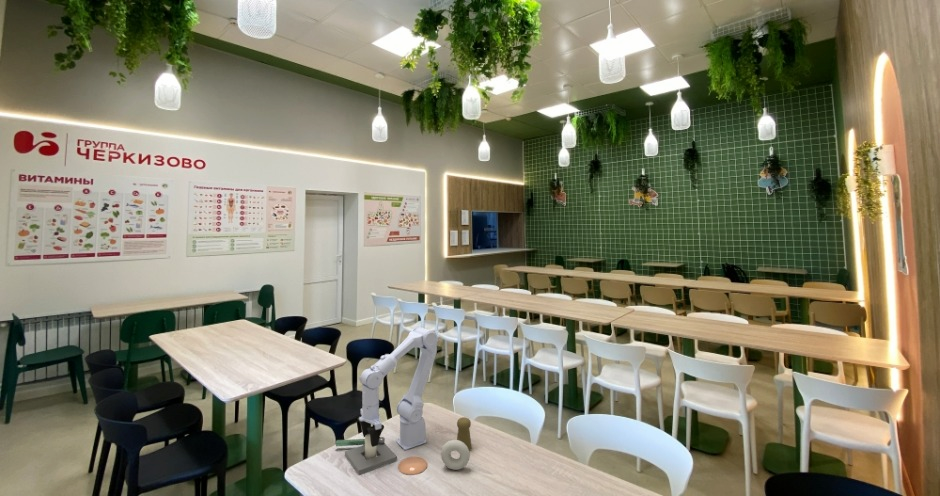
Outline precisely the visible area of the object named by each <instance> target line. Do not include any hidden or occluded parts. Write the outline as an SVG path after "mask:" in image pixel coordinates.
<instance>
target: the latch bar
mask: <svg viewBox="0 0 940 496" xmlns="http://www.w3.org/2000/svg"><path fill="white" fill-rule="evenodd" d="M385 440H386V438H385V437H384V436H380V438H379V443H378V444H379V445H382V444H384V443H385V442H386V441H385ZM385 444H386V443H385ZM363 445H365V438H354V439H337V440H336V441H335V447H348V446H363Z"/></svg>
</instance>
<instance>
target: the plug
mask: <svg viewBox="0 0 940 496" xmlns="http://www.w3.org/2000/svg"><path fill="white" fill-rule="evenodd" d="M364 439H365V456H364V458H365V459H366V460H368V459H371V458H374V457H377V456H378V455H377V451H376V446H374V447H372V445H371V440H370V434H367V435H366V436H365V437H364Z"/></svg>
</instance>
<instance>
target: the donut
mask: <svg viewBox="0 0 940 496" xmlns="http://www.w3.org/2000/svg"><path fill="white" fill-rule="evenodd" d="M440 451H441V452H440V458H441V461H442V463H443V465H445V466H446V467H447V468H448V469H450V470H453V471H455V470H456V471H458V470H459V471H460V470H461V469H464V468H466V466H467V465H468V463H469V461H470V456H471V455H470V451H469V449H468V447H467V446H466V445H465V444H464V443H463V442H461V441H459V440H457V439H450V440H448V441H446V442H445V443H444V444H443V446H442V447H441V450H440ZM453 451H455V452H457V453H459V457H458V458H455V457H452V454H451V453H452V452H453Z"/></svg>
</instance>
